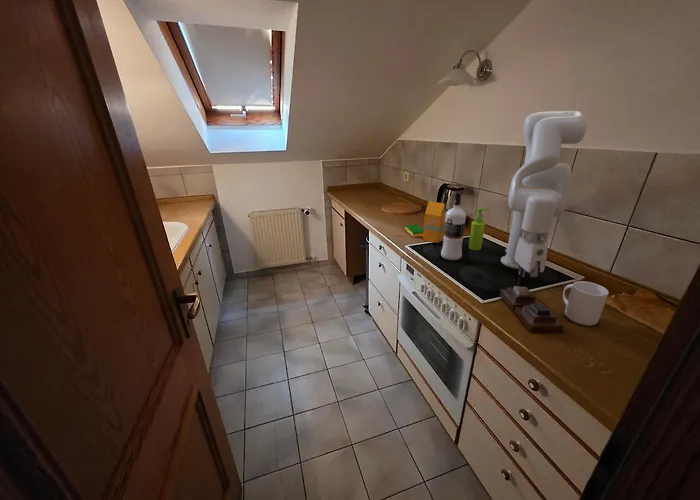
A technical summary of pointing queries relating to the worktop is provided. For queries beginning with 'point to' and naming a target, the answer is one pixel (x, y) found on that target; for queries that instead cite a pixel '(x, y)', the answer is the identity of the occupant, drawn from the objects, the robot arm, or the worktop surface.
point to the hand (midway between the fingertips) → (522, 285)
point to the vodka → (454, 231)
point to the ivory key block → (517, 298)
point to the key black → (540, 309)
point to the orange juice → (434, 222)
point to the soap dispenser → (477, 231)
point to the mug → (585, 302)
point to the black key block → (538, 320)
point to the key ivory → (521, 290)
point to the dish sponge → (414, 230)
